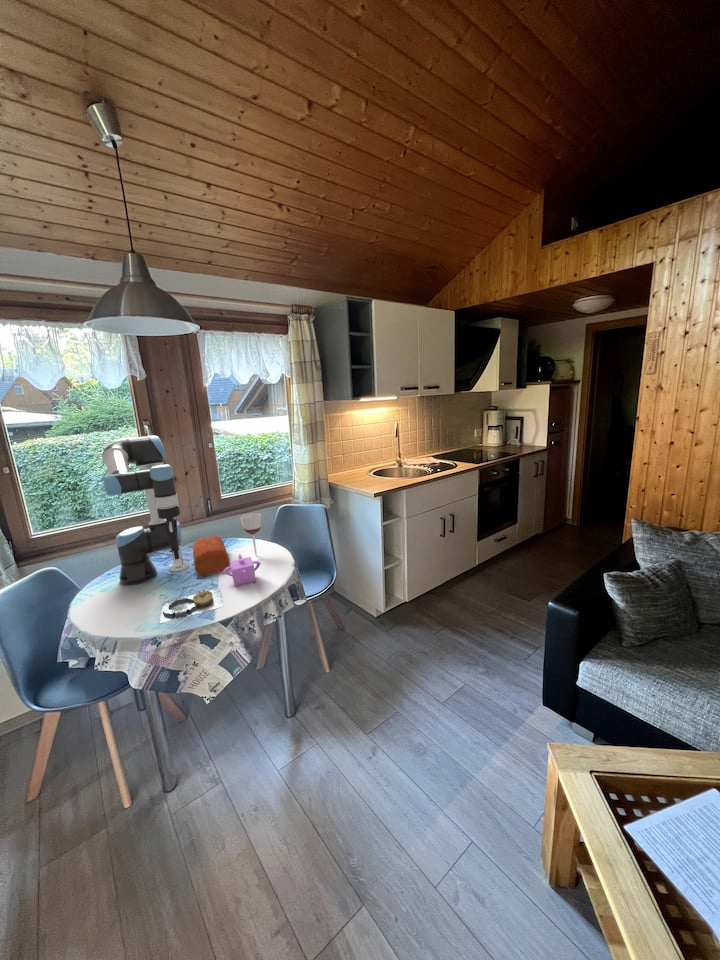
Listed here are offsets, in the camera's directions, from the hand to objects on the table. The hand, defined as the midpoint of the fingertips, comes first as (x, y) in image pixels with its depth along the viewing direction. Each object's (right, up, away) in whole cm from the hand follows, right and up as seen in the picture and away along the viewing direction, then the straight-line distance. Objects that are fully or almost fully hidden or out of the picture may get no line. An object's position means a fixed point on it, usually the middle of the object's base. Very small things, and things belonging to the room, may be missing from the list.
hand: (178, 564), depth 150 cm
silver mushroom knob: (0, -2, 0) cm, 2 cm away
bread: (-3, -9, +42) cm, 43 cm away
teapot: (+20, -12, +19) cm, 30 cm away
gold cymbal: (+9, -15, +2) cm, 18 cm away
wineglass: (+18, -6, +45) cm, 49 cm away
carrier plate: (+5, -17, +1) cm, 18 cm away
